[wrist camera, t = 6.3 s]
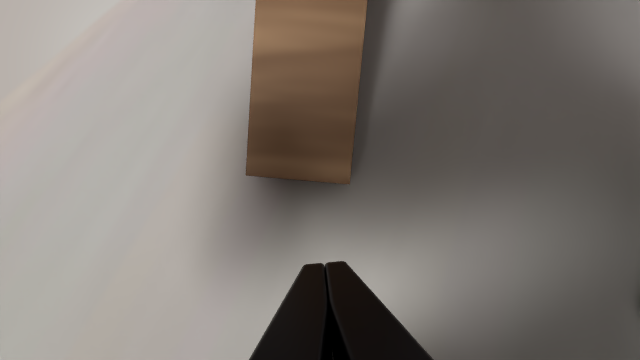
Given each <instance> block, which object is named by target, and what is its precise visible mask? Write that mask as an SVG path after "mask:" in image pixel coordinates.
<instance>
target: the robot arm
mask: <svg viewBox="0 0 640 360" xmlns="http://www.w3.org/2000/svg"><path fill="white" fill-rule="evenodd" d="M332 354H333V355H332ZM249 360H433V359H432V357H431V356H430V355H429V354H428V353H427V352H426V351H425V350H424V349H423V347H422V346H421V345H420V344H419V343H418V342H417V341H416V340H415V339H414V337H413V336H412V335H411V334H410V333H409V332H408V331H407V330H406V329H405V327H404V326H403V325H402V324H401V323H400V322H399V321H398V320H397V319H396V317H395V316H394V315H393V314H392V313H391V312H390V311H389V310H388V309H387V308H386V306H385V305H384V304H383V303H382V302H381V301H380V300H379V299H378V298H377V296H376V295H375V294H374V293H373V292H372V291H371V290H370V289H369V288H368V286H367V285H366V284H365V283H364V282H363V281H362V280H361V279H360V278H359V276H358V275H357V274H356V273H355V272H354V271H353V270H352V269H351V268H350V266H349V265H348V264H347V263H346V262H344V261H338V262H328V263H326V264H325V267H324V264H322V263H316V264H306V265H304V266H303V267H302V269H301V271H300V272H299V274H298V276H297V278H296V279H295V281H294V283H293V284H292V286H291V288H290V290H289V291H288V293H287V295H286V297H285V298H284V300H283V302H282V303H281V305H280V307H279V309H278V310H277V312H276V314H275V316H274V317H273V319H272V321H271V323H270V324H269V326H268V328H267V329H266V331H265V333H264V335H263V336H262V338H261V340H260V342H259V343H258V345H257V347H256V348H255V350H254V352H253V354H252V355H251V357H250V359H249Z"/></svg>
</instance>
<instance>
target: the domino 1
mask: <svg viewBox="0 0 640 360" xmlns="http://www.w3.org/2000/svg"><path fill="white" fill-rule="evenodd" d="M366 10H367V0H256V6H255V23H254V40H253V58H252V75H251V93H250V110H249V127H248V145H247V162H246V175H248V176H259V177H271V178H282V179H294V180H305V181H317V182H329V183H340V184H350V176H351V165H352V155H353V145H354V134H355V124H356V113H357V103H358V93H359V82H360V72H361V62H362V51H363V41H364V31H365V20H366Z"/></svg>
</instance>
